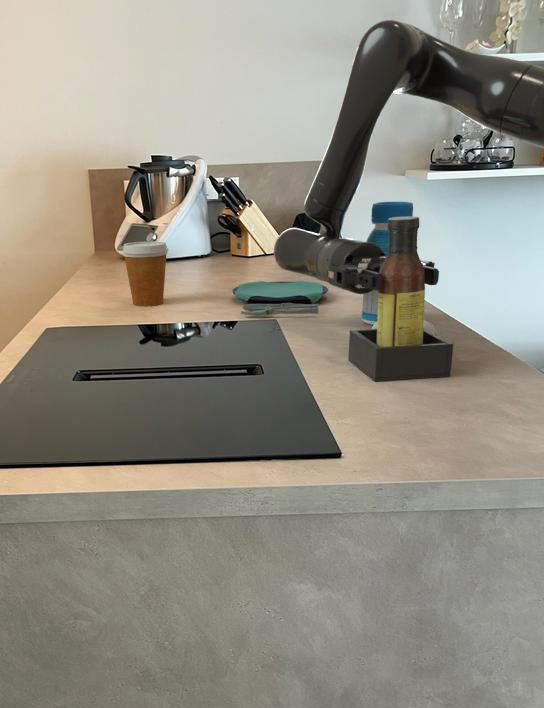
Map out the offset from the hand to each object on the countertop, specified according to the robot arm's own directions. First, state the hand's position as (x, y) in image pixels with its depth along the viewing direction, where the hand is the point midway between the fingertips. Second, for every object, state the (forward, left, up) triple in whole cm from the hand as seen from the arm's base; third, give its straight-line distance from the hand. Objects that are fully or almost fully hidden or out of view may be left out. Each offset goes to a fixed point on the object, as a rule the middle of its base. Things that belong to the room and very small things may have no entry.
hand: (408, 279), depth 105 cm
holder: (0, -1, -12) cm, 12 cm away
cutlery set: (+5, -54, -13) cm, 56 cm away
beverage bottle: (-9, -31, -13) cm, 35 cm away
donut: (-6, -15, -13) cm, 21 cm away
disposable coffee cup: (+31, -62, -13) cm, 71 cm away
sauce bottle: (0, -1, -12) cm, 12 cm away
